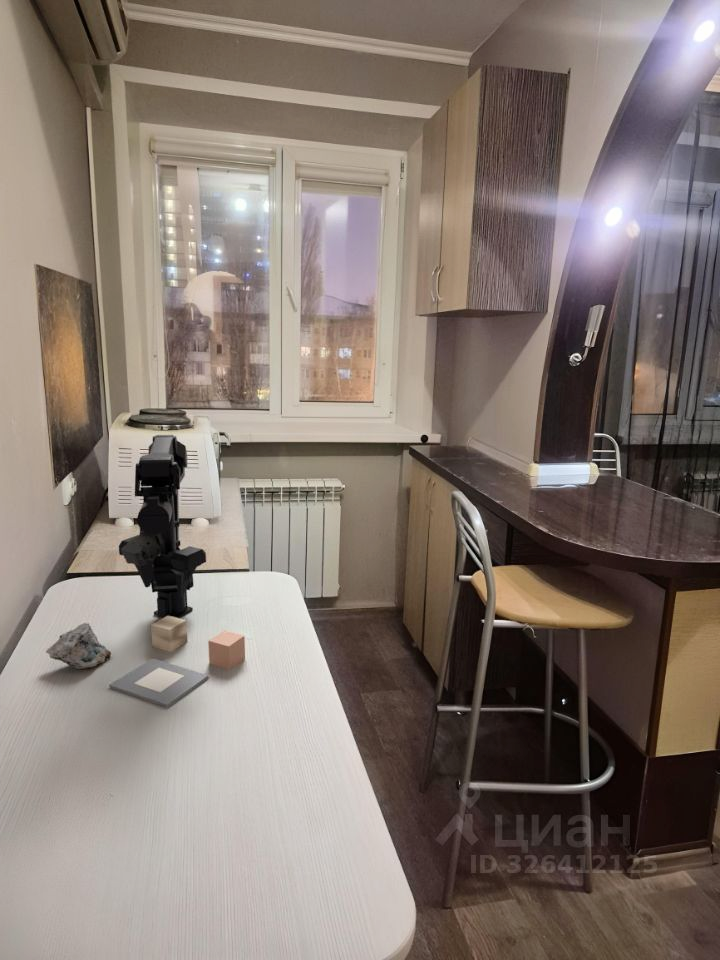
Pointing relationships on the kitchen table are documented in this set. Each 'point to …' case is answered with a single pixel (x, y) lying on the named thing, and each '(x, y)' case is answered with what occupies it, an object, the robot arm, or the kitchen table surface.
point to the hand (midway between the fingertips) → (164, 591)
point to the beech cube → (169, 633)
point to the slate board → (159, 682)
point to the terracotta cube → (226, 649)
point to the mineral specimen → (79, 648)
